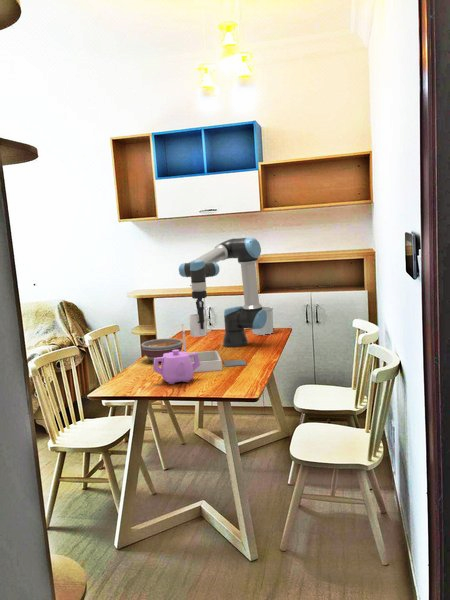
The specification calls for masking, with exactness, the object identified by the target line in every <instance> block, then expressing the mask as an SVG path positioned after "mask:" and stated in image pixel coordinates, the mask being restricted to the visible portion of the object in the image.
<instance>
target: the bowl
mask: <svg viewBox="0 0 450 600" xmlns="http://www.w3.org/2000/svg"><path fill="white" fill-rule="evenodd" d="M183 346H184V345H183V339H182V340H181V339H179V338H169V337H168V338H156V339H151V340H147V341H143V342H142V343H141V346H140V347H141V349H142V352H143V354H144V355H145V357H147V358H148V360H150V361H152V362H154V358H158V357H163V354H165V353H169V352H172V350H179V352H180V351H182V349H183ZM159 362H160V363H162V361H159Z"/></svg>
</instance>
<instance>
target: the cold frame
mask: <svg viewBox="0 0 450 600" xmlns="http://www.w3.org/2000/svg"><path fill="white" fill-rule="evenodd" d="M181 329H182V342H183V345H182V346H183V351H184V352H186V353H188V354H192V353H197V354H198V358H199V362H200V366H199V367H197V368H196V369H195V370H194V371H193V372H194V373H205V372H217V371H223V361H222V358H221V356H220V353H219V351H218V350H207V351H193V352H187V345H186V344H187V343H186V329H185V325H184V323H181ZM190 360H191V362H192V364H193V363H194V357H191V358H190Z"/></svg>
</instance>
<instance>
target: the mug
mask: <svg viewBox="0 0 450 600" xmlns="http://www.w3.org/2000/svg"><path fill="white" fill-rule="evenodd" d="M198 322H199V315H198V313H196V314H195V313H194V314H193V313H192V314H190V315H189V330H190V337H196V338H198V337H205V336H207V335H208V333H210V332H211V331H212V330H213V326H211V328H210V329H208V328H207V327H208V325H207V322H209V323H210V324H211V325H213V322H212V320H211V319H210V318H208V317H207V315H206V313H204V326H205V335H200V331H199V323H198Z"/></svg>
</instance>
